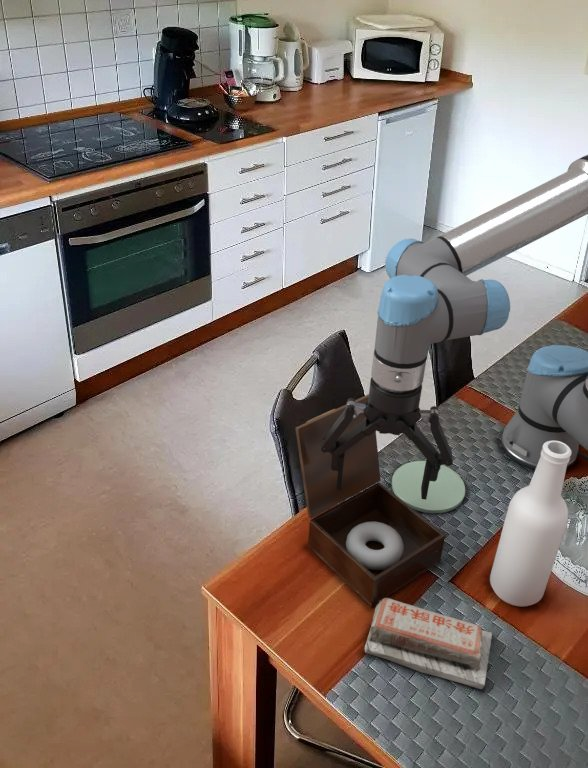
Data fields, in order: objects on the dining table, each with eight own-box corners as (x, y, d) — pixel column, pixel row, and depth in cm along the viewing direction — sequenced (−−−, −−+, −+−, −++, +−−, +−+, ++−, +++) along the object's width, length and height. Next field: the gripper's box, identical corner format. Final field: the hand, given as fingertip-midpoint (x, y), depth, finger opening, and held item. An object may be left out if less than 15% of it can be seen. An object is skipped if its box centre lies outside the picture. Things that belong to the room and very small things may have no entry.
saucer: (473, 478, 145) (474, 475, 144) (451, 523, 134) (452, 520, 134) (406, 455, 150) (407, 452, 149) (380, 496, 140) (380, 493, 139)
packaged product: (365, 634, 108) (381, 584, 116) (362, 654, 111) (378, 604, 119) (489, 672, 104) (497, 617, 112) (483, 692, 107) (491, 637, 114)
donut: (413, 550, 128) (366, 522, 133) (416, 536, 126) (368, 508, 131) (381, 585, 122) (333, 553, 127) (384, 571, 120) (334, 540, 125)
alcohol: (549, 581, 124) (596, 442, 107) (533, 617, 118) (580, 476, 101) (499, 559, 128) (536, 421, 111) (481, 593, 121) (517, 453, 104)
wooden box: (440, 562, 127) (445, 534, 123) (371, 608, 118) (375, 580, 115) (375, 508, 137) (379, 481, 133) (307, 547, 129) (309, 519, 125)
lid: (372, 394, 126) (352, 387, 130) (298, 429, 118) (279, 420, 122) (380, 480, 133) (362, 471, 137) (311, 518, 124) (293, 508, 128)
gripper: (308, 385, 105) (301, 496, 117) (486, 403, 103) (460, 514, 115) (313, 357, 111) (306, 465, 123) (481, 374, 109) (457, 482, 121)
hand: (381, 489), depth 119 cm, fingers open, 13 cm apart
